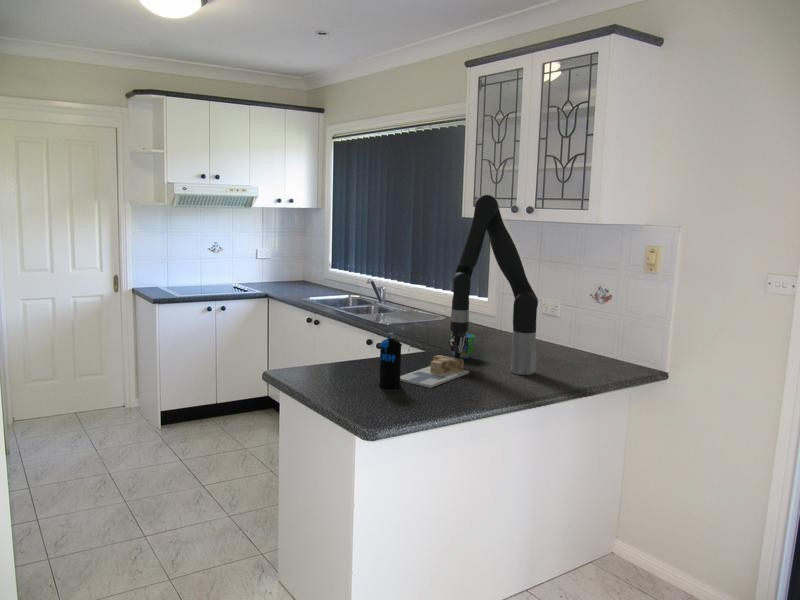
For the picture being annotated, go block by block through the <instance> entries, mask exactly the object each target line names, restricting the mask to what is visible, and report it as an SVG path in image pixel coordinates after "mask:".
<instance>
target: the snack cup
mask: <svg viewBox="0 0 800 600" xmlns="http://www.w3.org/2000/svg"><path fill="white" fill-rule="evenodd" d="M452 334H453V333H451V335H450V339H451V340H452ZM466 337H468V338H469V339H468V342H467V344H466V347H465V349H464V350H462V352H461V359H463V360H468V359H470V358H471V356H472V354H473V353H474V341H475V340H476V335H474V334H473V333H468V332H466ZM452 354H453V355H452V356H453V358H455V352H454V351H452Z"/></svg>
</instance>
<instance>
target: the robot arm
mask: <svg viewBox="0 0 800 600" xmlns="http://www.w3.org/2000/svg"><path fill="white" fill-rule="evenodd" d="M473 212H474V213H473V217H472V221H471V226H470V229H469V232H468V234H467V237H466V240H465V244H464V246H463V249H462V251H461V255H460V258H459V262H458V265H457V267H456V269H455V270H454V274H453V277H452V282H453V283H452V284H453V288H452V289H453V290H452V291H453V294H452V299H451V301H452V302H451V311H450V326H449V331H450V332H451V334H452V339H451V340H448V345H449V348H450V350H451V352H453V351H454V352H455V357H454V358H457V359H461V352H462V350H464V349H465V347H466V344H467V342H468V339H469V338H468V337H466V333H468V332H469V325H470V324H469V323H470V292H471V284H472V283H471V282H472V281H471V279H472V275H473V271H474V268H475V267H476V265H477V263H478V260H479V257H480V254H481V251H482V248H483V243H484V238H485V235H486V232H487V234H488V238H489V243H490V246H491V250H492V253H493V255H494V258H495V261H496V263H497V265H498V267H499V269H500V271H501V272H502V274H503V276H504V277H505V278H506V280H507V282H508V284H509V286H510V288H511V291H512V295H513V297H514V301H513V310H512V311H513V312H512V313H513V314H512V343H511V358H510V359H511V361H510V373H512V374H516V375H520V376H521V375H522V376H531V375H533V374H535V373H536V371H537V370H536V369H537V353H538V350H537V349H536V337H537V335H536V333H537V313H538V305H539V300H538V297H537V295H536V294H535V292H534V290H533V288H532V286H531V284H530V282H529V280H528V278H527V275H526V272H525V268H524V265H523V263H522V259H521V257H520V254H519V251H518V249H517V247H516V244H515V243H514V240H513V238H512V237H511V235H510V233H509V232H508V229H507V228H506V226H505V223H504V220H503V218H502V214H501V211H500V207H499V202H498V200H497V199H496V198H495V197H494V196H492V195H490V194H483V195H480V196H479V197H477V199H476V200H475V202H474V211H473Z"/></svg>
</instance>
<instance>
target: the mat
mask: <svg viewBox="0 0 800 600" xmlns="http://www.w3.org/2000/svg"><path fill="white" fill-rule="evenodd" d="M430 370H431V365H429V366H427V367H423V368H420V369H418V370H415V371H411V372H409V373H406V374H403V375H400V382H402V381H403V383H407V384H411V385H416V386H421V387H425V388H430V389H431V388H434V387H436V386H439V385H441V384H444V383H447V382H450V381H452V380H455V379H457V378H460V377H462V376H465V375H467V374H469V373H470V371H469V370H465V369H463V371H460V372H454V371H447V372H445V373H442V374H434V373H430Z"/></svg>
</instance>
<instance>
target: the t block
mask: <svg viewBox="0 0 800 600" xmlns="http://www.w3.org/2000/svg"><path fill="white" fill-rule="evenodd" d="M432 358H433V359H432V360H431V361H430V366H431V370H430V373H434V374H442V373H445V372H447V371H454V372H460V371H463V370H464V360H465V359H457V358H455V357H451V356H445V355H439V354H437V355H433V357H432Z"/></svg>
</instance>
